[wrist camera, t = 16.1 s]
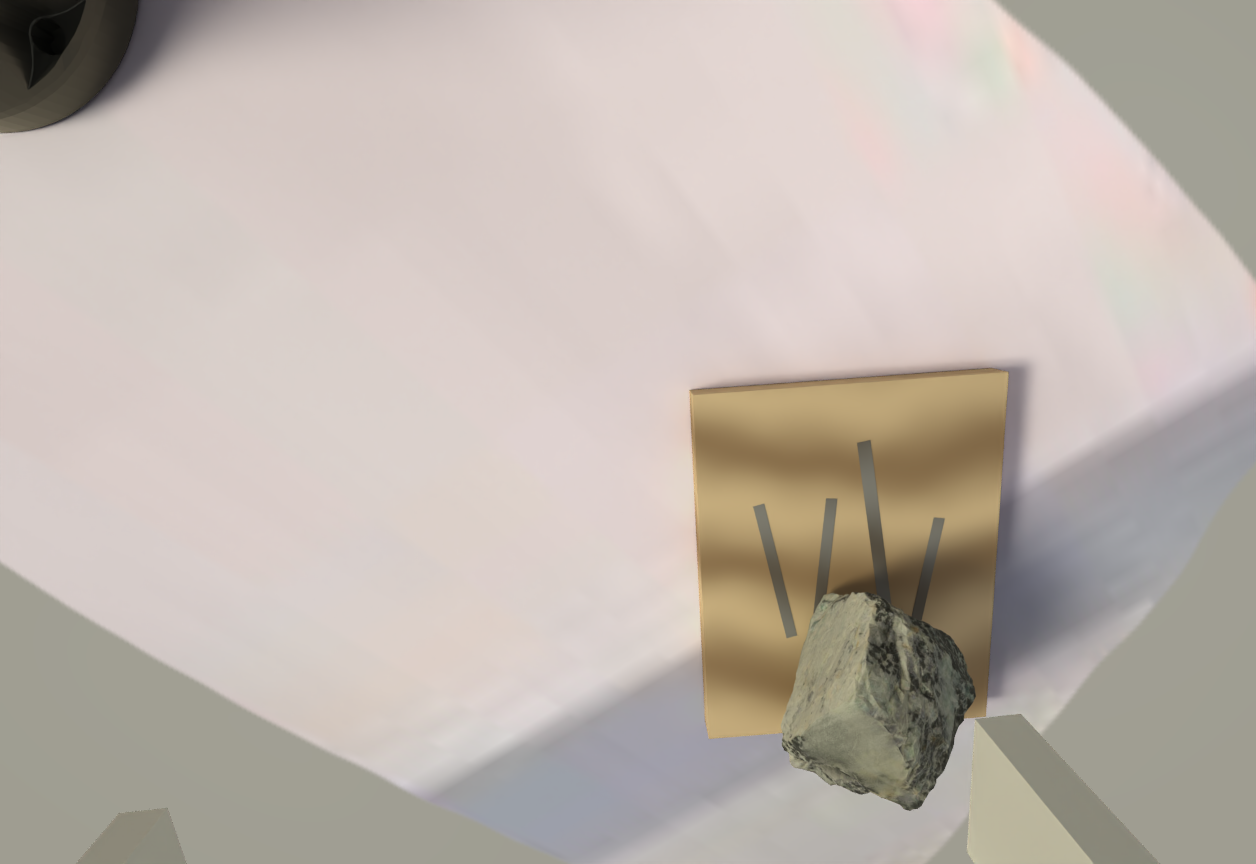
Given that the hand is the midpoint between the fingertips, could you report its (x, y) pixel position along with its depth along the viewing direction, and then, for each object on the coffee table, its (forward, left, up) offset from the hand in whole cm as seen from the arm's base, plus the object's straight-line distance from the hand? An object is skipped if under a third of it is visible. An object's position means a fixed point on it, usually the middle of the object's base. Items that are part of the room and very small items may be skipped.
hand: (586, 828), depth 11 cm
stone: (+12, +12, -23) cm, 29 cm away
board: (+7, +13, -25) cm, 29 cm away
